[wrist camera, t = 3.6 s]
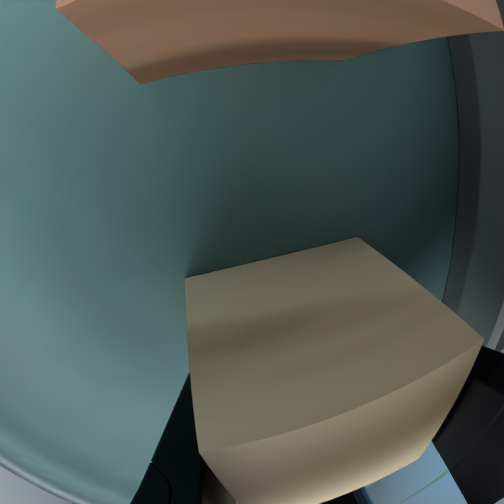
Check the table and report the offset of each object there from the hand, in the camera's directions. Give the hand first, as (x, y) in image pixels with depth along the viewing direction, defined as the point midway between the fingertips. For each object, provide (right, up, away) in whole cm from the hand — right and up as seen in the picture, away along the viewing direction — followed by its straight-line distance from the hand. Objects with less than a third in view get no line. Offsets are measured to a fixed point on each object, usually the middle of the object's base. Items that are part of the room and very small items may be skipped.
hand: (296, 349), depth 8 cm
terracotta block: (-2, +9, -3) cm, 10 cm away
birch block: (0, 0, +1) cm, 1 cm away
